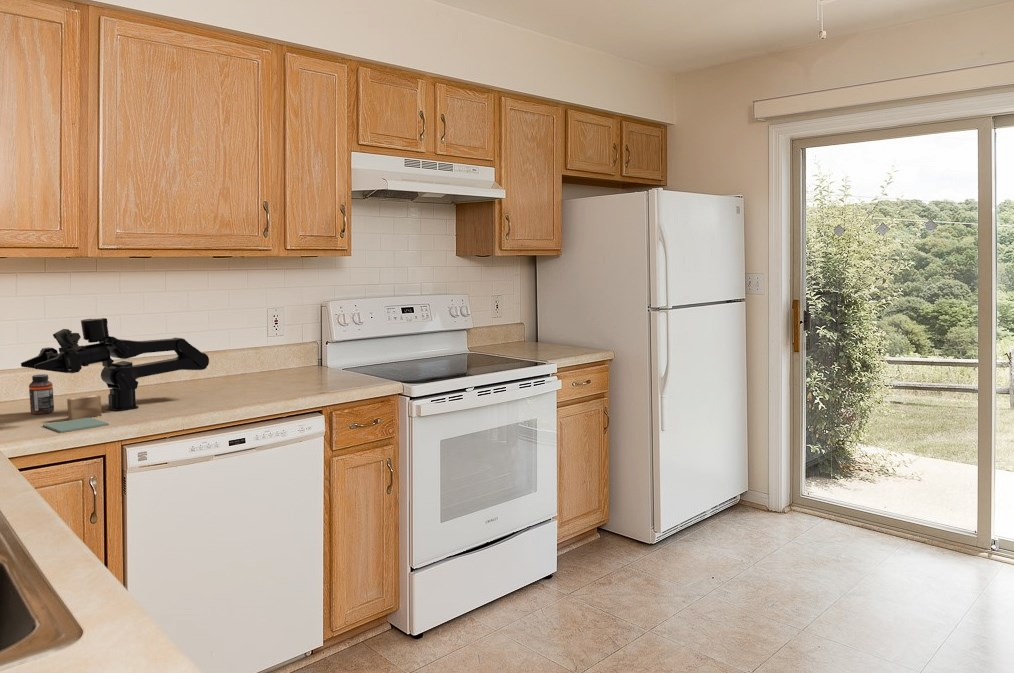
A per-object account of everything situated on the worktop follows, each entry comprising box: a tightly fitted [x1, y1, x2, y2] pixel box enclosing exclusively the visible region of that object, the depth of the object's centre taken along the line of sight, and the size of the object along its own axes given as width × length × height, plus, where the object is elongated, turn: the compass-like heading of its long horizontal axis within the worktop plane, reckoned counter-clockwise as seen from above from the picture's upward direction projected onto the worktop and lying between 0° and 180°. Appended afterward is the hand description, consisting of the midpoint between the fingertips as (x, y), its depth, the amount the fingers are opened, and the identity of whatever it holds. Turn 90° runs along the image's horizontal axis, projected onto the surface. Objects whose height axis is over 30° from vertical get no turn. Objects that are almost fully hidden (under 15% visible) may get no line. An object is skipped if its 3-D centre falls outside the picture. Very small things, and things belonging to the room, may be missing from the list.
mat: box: [42, 417, 109, 434], centre depth 201 cm, size 12×12×1 cm
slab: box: [66, 394, 102, 421], centre depth 211 cm, size 8×2×6 cm, turn 142°
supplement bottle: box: [28, 373, 55, 415], centre depth 217 cm, size 6×6×11 cm
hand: (27, 365), depth 202 cm, fingers open, 9 cm apart
